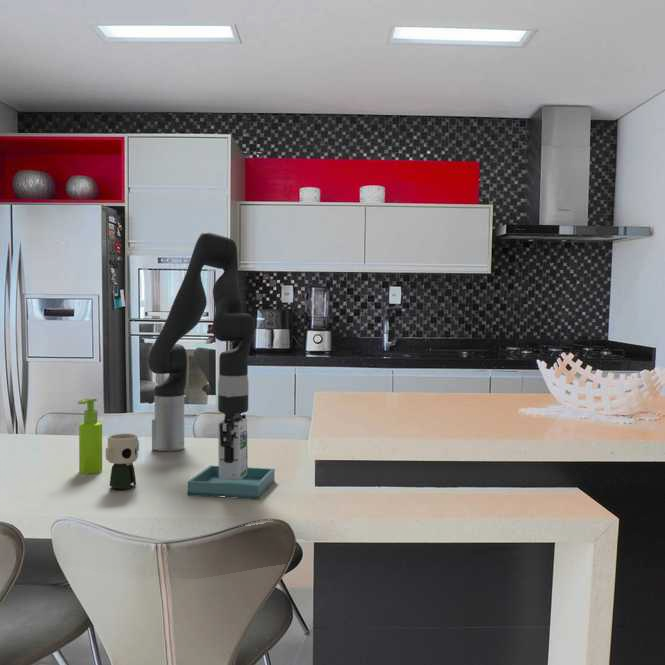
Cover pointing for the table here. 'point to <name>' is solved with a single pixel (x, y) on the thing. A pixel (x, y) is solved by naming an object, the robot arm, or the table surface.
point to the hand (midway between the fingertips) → (232, 459)
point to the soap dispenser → (90, 440)
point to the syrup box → (239, 464)
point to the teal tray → (231, 483)
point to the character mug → (122, 459)
